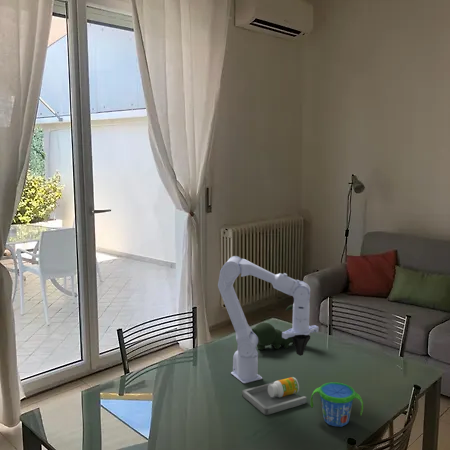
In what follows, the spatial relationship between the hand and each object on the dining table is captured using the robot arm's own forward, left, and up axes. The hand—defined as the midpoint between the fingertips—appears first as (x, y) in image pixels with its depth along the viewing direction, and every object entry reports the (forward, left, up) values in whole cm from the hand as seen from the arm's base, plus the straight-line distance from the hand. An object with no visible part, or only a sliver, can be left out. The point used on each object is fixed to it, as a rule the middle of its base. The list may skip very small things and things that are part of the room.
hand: (299, 354), depth 177 cm
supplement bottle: (+6, -6, -7) cm, 11 cm away
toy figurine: (-30, +11, -11) cm, 34 cm away
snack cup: (+26, -6, -11) cm, 29 cm away
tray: (+6, -15, -10) cm, 19 cm away
